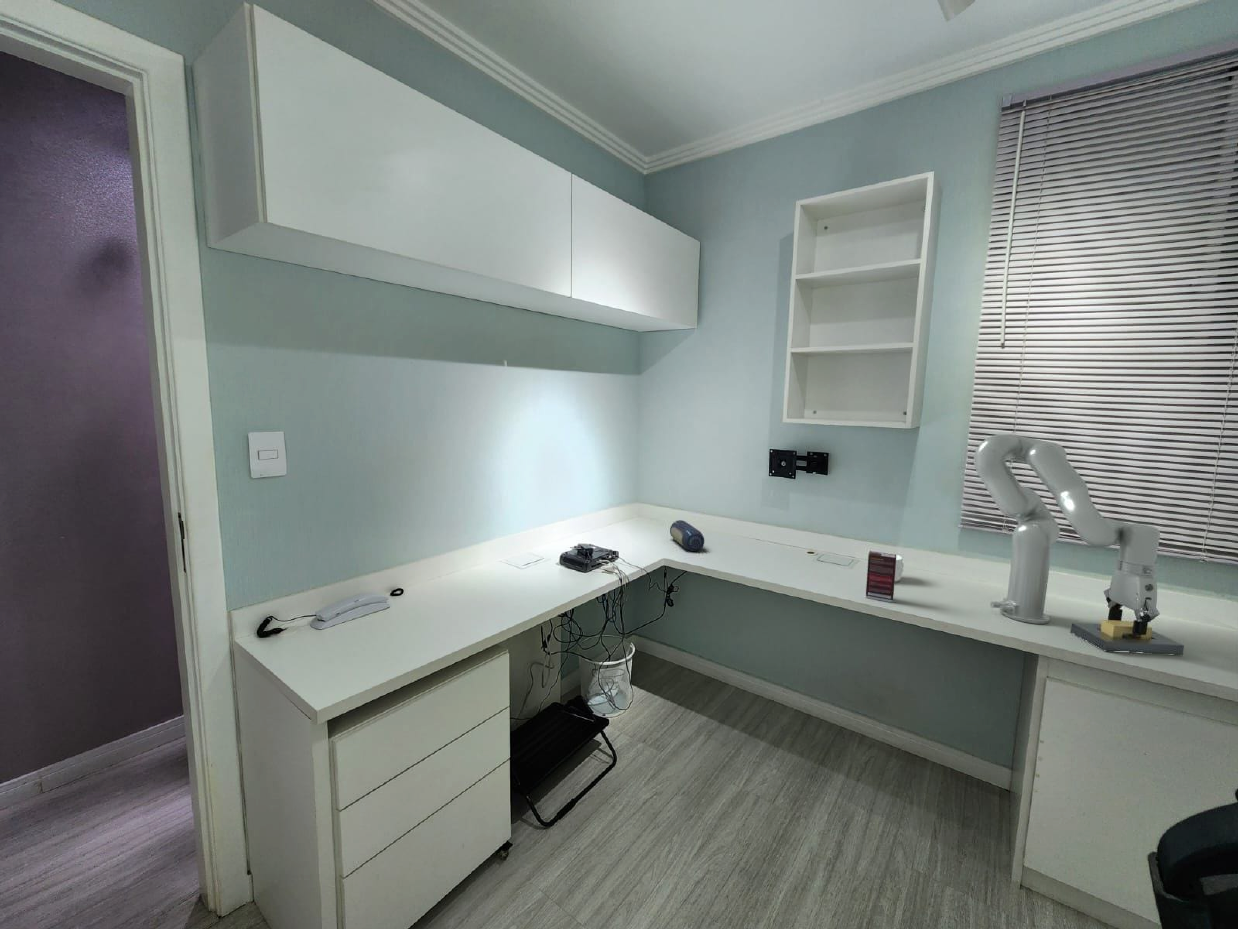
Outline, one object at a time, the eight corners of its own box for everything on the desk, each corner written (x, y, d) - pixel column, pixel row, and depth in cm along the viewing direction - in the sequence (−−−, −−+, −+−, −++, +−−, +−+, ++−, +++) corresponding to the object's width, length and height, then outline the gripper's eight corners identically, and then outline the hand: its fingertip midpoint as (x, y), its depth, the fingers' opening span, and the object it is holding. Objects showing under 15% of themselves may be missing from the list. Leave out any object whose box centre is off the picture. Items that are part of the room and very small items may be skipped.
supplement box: (893, 598, 179) (897, 554, 177) (892, 603, 175) (896, 557, 173) (865, 593, 183) (869, 550, 181) (864, 597, 179) (868, 553, 177)
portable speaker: (667, 538, 250) (667, 518, 249) (686, 538, 253) (687, 518, 251) (685, 554, 226) (685, 531, 225) (706, 553, 228) (707, 531, 227)
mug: (900, 587, 190) (902, 563, 189) (869, 581, 196) (871, 558, 195) (904, 578, 200) (906, 555, 199) (874, 573, 206) (876, 550, 204)
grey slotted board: (1104, 651, 143) (1106, 641, 142) (1070, 632, 154) (1071, 622, 154) (1182, 656, 141) (1184, 645, 141) (1141, 636, 153) (1143, 626, 153)
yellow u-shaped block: (1111, 646, 146) (1114, 625, 145) (1099, 639, 150) (1102, 619, 149) (1149, 648, 145) (1152, 627, 145) (1136, 641, 149) (1139, 621, 149)
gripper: (1180, 579, 136) (1170, 643, 138) (1122, 559, 153) (1113, 616, 155) (1150, 578, 137) (1140, 641, 139) (1095, 558, 154) (1087, 615, 156)
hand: (1126, 627), depth 147 cm, fingers open, 7 cm apart
